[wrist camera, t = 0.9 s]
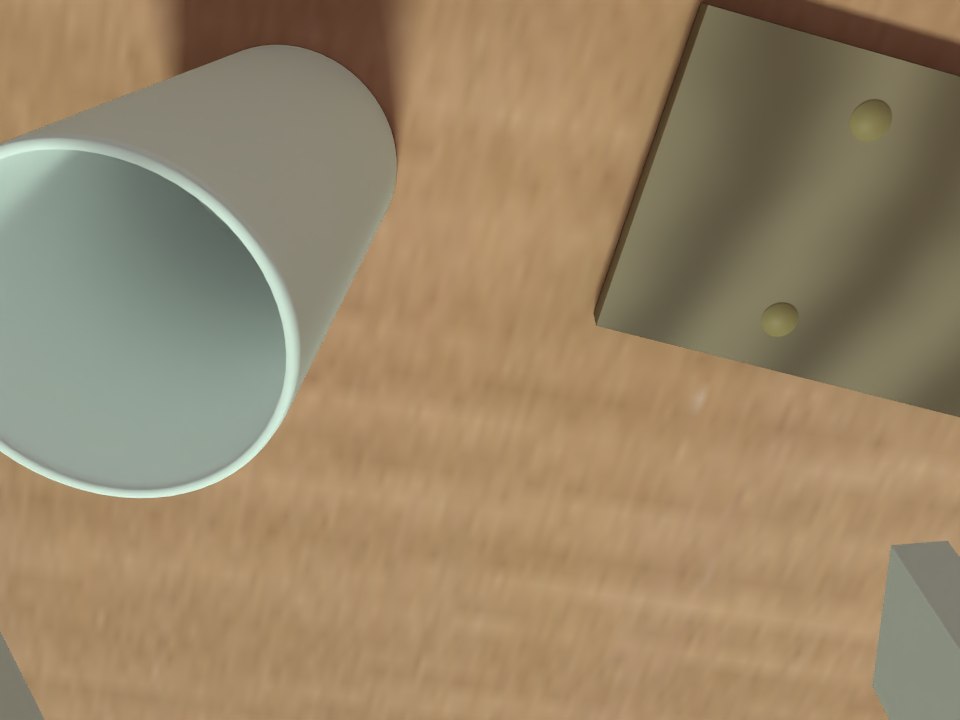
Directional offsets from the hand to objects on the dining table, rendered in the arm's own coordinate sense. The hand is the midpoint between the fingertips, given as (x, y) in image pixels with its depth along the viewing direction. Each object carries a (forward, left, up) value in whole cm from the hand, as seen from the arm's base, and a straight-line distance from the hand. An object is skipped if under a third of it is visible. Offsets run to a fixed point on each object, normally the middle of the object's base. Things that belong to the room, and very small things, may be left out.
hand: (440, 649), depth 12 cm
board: (+14, +3, -22) cm, 26 cm away
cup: (-8, 0, -22) cm, 24 cm away
